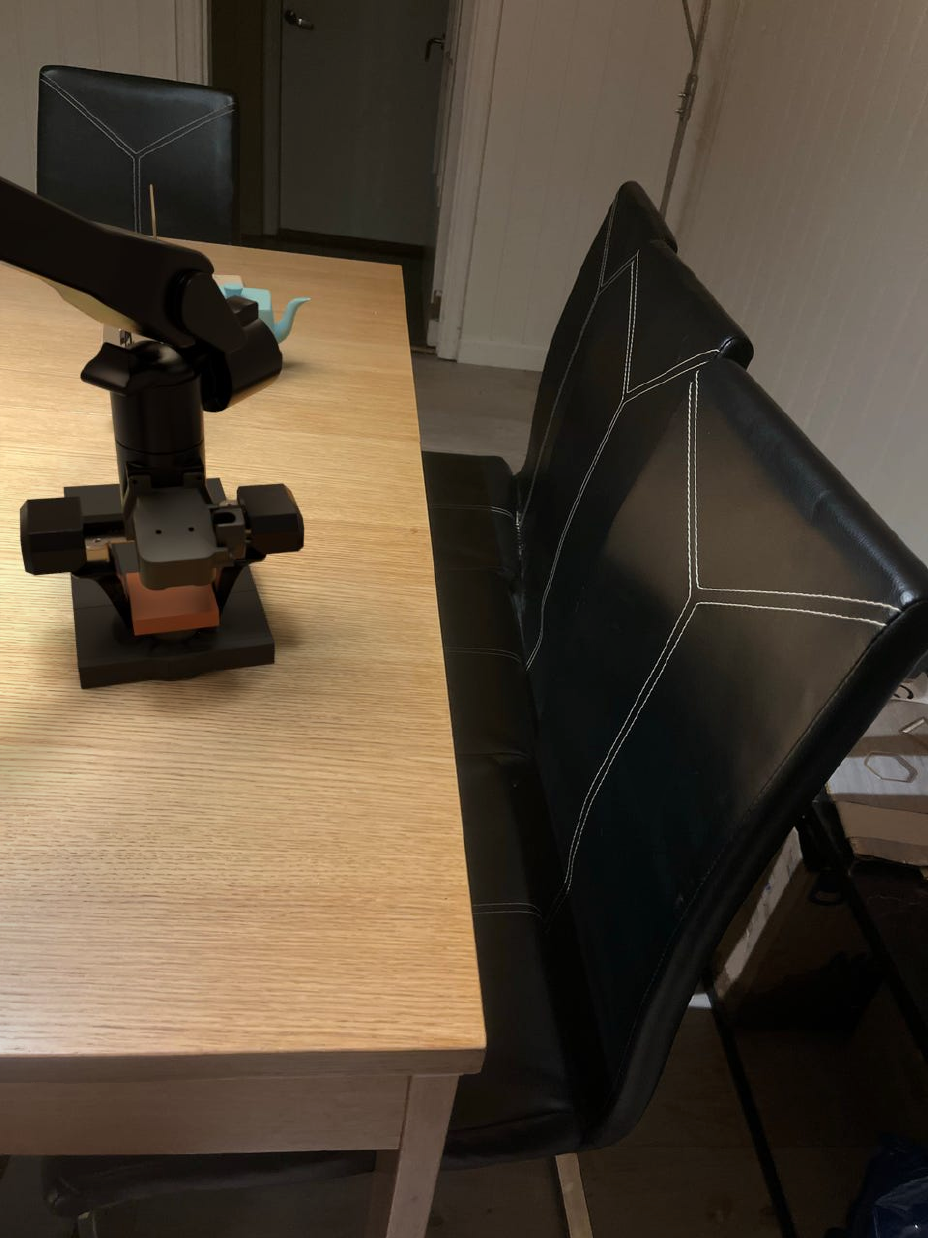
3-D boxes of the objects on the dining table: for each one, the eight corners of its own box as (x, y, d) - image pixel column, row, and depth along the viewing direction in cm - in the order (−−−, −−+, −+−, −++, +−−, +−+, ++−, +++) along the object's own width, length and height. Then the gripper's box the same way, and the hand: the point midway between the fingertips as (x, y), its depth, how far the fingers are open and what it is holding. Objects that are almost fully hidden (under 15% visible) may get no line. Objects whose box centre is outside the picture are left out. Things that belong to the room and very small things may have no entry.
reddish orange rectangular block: (137, 663, 67) (133, 620, 65) (130, 614, 72) (125, 573, 69) (220, 652, 69) (218, 611, 67) (208, 606, 74) (206, 565, 71)
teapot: (156, 382, 108) (150, 296, 101) (165, 337, 118) (160, 258, 112) (310, 390, 112) (313, 308, 106) (305, 346, 122) (308, 270, 116)
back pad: (276, 666, 70) (276, 646, 69) (81, 693, 65) (78, 672, 64) (220, 495, 89) (219, 477, 88) (66, 505, 84) (63, 486, 83)
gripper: (3, 506, 51) (43, 709, 60) (327, 485, 58) (318, 670, 67) (4, 419, 59) (39, 610, 68) (289, 409, 66) (285, 584, 75)
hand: (173, 620), depth 70 cm, fingers closed on reddish orange rectangular block, 6 cm apart
